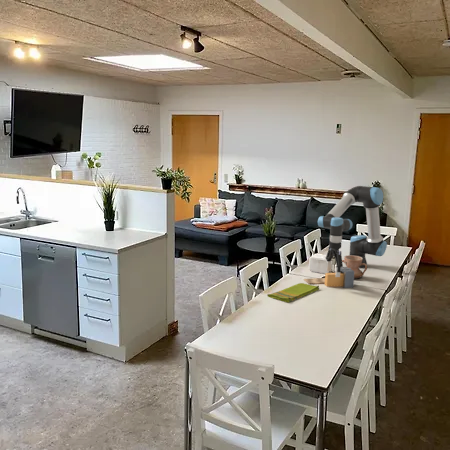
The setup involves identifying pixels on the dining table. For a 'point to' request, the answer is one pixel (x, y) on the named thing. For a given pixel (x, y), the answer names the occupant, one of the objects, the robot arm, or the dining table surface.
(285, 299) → the dish towel
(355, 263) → the ceramic jug
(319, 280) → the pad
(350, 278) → the block
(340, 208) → the robot arm
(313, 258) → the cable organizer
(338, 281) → the plug
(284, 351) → the dining table surface
